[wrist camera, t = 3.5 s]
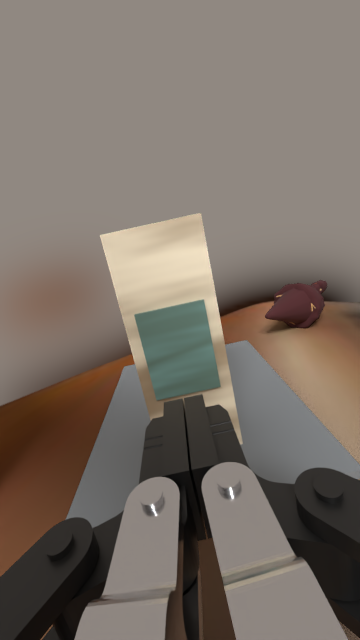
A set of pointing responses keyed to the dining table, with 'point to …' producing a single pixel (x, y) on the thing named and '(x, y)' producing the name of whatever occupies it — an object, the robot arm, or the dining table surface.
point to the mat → (255, 425)
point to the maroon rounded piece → (298, 304)
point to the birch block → (171, 313)
